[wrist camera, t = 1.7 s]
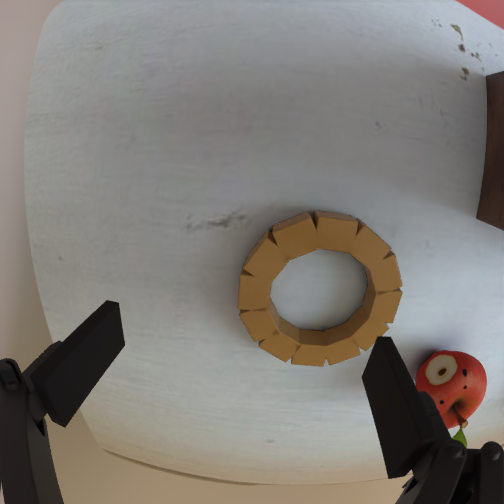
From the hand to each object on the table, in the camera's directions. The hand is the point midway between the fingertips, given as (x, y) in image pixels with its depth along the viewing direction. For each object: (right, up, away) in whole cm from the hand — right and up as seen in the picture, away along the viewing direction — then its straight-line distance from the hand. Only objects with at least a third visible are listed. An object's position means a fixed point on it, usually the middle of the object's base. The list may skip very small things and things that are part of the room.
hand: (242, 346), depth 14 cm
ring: (+5, +2, +7) cm, 9 cm away
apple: (+17, -6, +8) cm, 20 cm away
